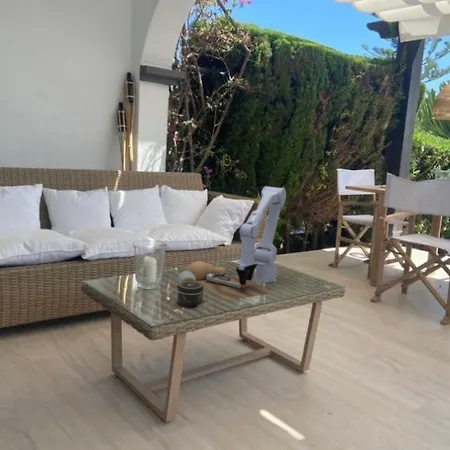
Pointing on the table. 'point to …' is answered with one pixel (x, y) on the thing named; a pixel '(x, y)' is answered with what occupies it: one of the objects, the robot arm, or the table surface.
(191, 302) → the jar
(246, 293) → the board
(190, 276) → the ceramic mug
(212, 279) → the lever
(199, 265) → the squash
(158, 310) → the table surface
